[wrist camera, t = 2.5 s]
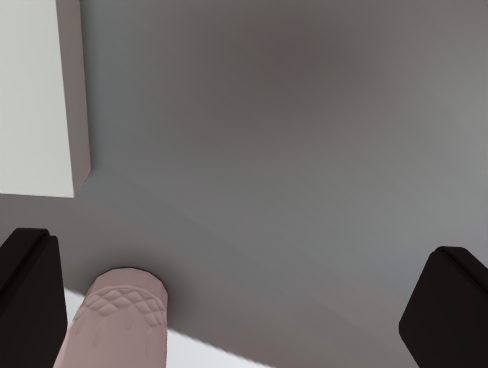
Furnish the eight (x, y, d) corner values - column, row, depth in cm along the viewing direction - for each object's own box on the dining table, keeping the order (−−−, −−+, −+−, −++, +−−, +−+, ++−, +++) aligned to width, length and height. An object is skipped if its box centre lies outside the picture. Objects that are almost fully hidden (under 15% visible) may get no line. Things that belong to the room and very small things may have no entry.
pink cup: (192, 295, 32) (189, 409, 23) (132, 339, 33) (106, 460, 25) (125, 245, 28) (90, 354, 20) (62, 296, 30) (4, 418, 21)
